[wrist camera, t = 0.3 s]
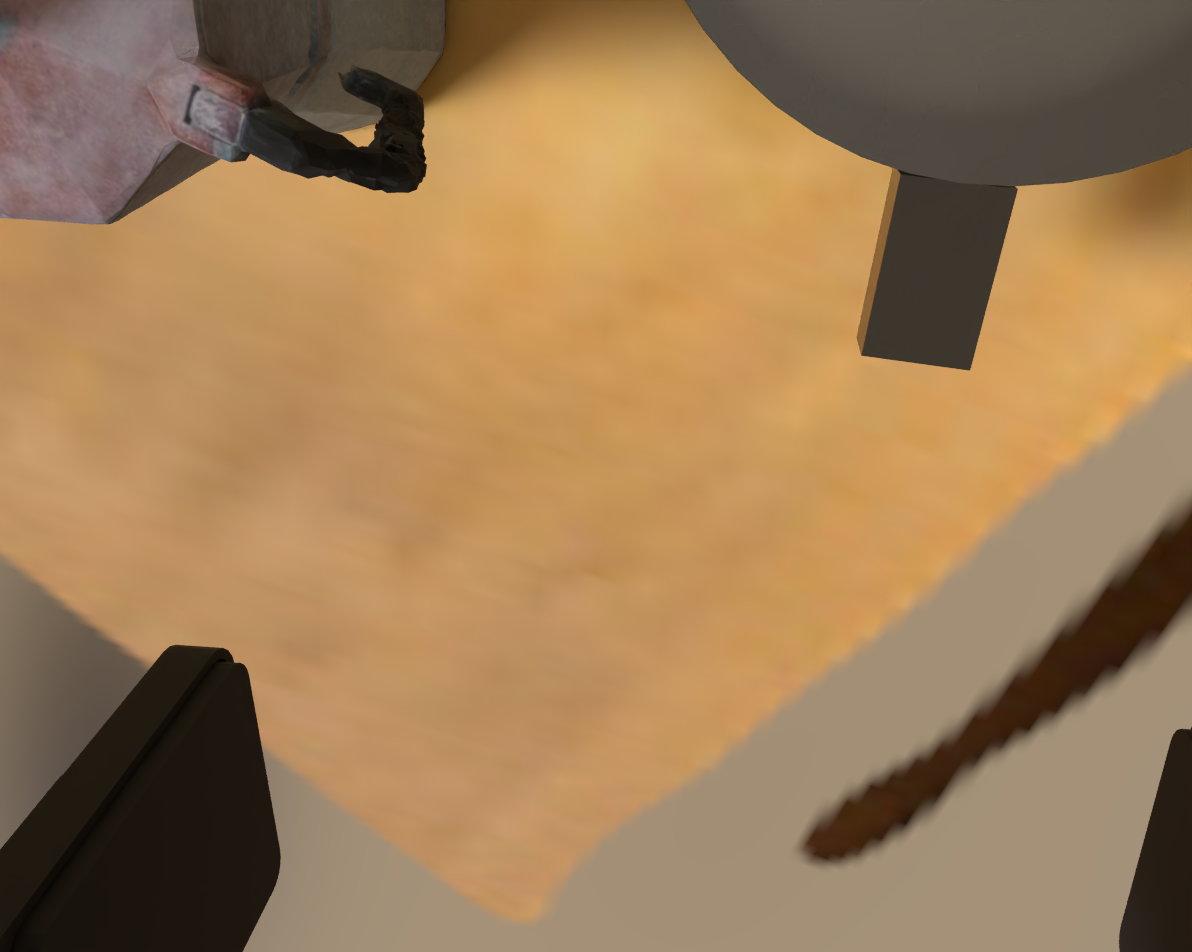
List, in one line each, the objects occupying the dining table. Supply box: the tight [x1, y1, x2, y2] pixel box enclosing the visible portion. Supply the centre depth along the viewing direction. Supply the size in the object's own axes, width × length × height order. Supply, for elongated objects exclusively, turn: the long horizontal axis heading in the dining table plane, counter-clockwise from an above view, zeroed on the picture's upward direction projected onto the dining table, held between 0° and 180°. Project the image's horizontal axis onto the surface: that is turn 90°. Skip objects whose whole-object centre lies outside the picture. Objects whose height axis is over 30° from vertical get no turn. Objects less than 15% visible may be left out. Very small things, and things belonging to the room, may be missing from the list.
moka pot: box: [0, 0, 446, 224], centre depth 29 cm, size 10×15×20 cm, turn 71°
